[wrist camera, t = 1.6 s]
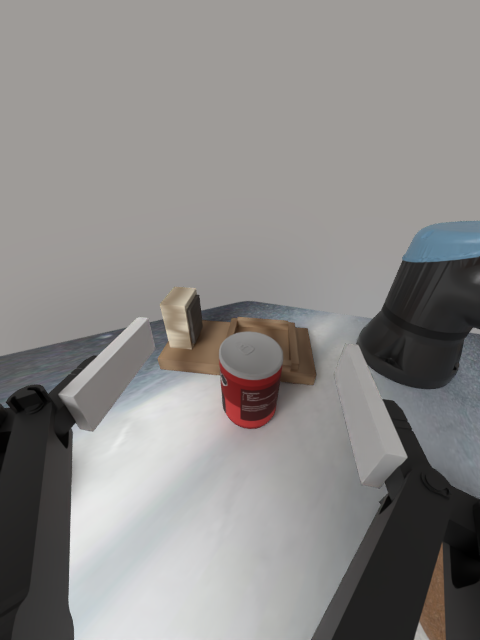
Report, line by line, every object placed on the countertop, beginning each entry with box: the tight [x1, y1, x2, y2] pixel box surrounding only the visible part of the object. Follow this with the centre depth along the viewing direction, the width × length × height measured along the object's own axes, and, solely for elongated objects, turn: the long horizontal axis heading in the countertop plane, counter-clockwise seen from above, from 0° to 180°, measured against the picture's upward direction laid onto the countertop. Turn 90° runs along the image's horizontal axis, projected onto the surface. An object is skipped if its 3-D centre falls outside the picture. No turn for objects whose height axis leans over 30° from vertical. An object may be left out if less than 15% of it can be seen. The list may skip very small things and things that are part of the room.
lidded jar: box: [414, 545, 446, 640], centre depth 16 cm, size 11×11×9 cm
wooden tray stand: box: [158, 287, 316, 385], centre depth 39 cm, size 26×12×12 cm, turn 82°
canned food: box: [219, 332, 283, 429], centre depth 30 cm, size 8×8×11 cm
